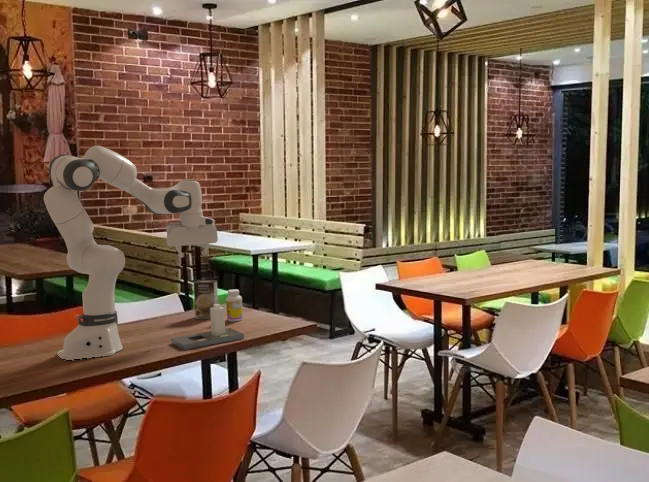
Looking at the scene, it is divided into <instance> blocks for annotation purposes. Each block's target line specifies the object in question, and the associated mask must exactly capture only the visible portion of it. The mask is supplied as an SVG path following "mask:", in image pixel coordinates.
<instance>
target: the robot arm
mask: <svg viewBox="0 0 649 482" xmlns="http://www.w3.org/2000/svg"><path fill="white" fill-rule="evenodd" d="M48 173H49V174H48V175H49V185H50V186H51V187H50V188H48V189H47V190H46V192H45V193H44V195H43V202H44V205H45V207H46V210H47V212H48V214H49V216H50V218H51V220H52V221H53V223H54V225H55V227H56V228H57V230H58V232H59V234H60V235H61V237H62V238H63V240H64V242H65V245H66V248H67V253H66V263H67V265H68V267H69V268H70V269H71V270H72V271H75V272H77V273H79V274H84V275H88V283H87V286H86V287H85V288H84V289H83V291H82V292H81V293H82V294H81V296H82V311H83V313H82V314H81V315H80V314H75V316H74V320H75V321H77V322H78V325H77V326H76V327H75V328H74V329H73V330H72V331H70V332H69V333H68V334H66V336H65V337H64V340H63V347H62V349H60V350H58V351H57V355H58V356H59V357H60V358H62V359H66V360H72V361H75V360H74V359H80V360H83V359H82V358H87V359H93V358H92V357H95V358H101V356H102V357H108V356H112V355H114V354H115V353H117V352H120V351H121V350H123V349H124V347H123V345H122V342H121V338H120V334H119V330H118V329H119V328H118V326H119V325H118V322H119V320H118V311H117V310H116V301H115V298H116V297H115V288H116V283H117V279H118V277H119V274H120V273H121V272H122V271H123V269H124V268H125V264H126V257H125V254H124V252H123V251H122V250H121V249H119V248H117V247H115V246H112V245H110V244H98V243H97V242H96V241H95V238H94V235H93V232H94V229H95V225H94V223H93V221H92V220H91V218H90V216H89V215H88V213H87V210H86V209H85V208H84V206H83V204H82V202H81V201H80V199H79V196H78V192H82V191H86V190H88V189H90V188H91V187H92V186H93V185H94V184H95V182H96V181H97V180H98V179H99V180H101V181H103V182H105V183H107V184H108V185H111V186H112V187H115V188H116V189H119V190H122V191H124V192H125V193H127V194H129V195H130V196H131V197H134V198H135V199H136V200H138V201H140V202H141V204H143V205H144V207H145V208H146V209H147V210H148V212H150V213H151V214H154V215H176V214H179V221H175V222H169V223H168V224H166V226H165V230H166V231H165V232H166V245H167V246H168V247H175V250H176V251H177V253H178V257H179V258H180V259H181V258H185V252H182V250H181V249H182V247H183V246H184V247H185V246H192V245H193V246H196V245H203V247H204V249H203V250H201V256H207V255H208V249H209V248H210V244H216V243H217V242H218V229H217V227H216V225H215V223H216V220H215V218H214V219H213V218H211V217H207V216H204V214H203V209H202V204H203V195H202V188H201V184H200V182H198V181H197V180H195V179H194V180H193V179H186V178H183V179H180V180H179V181H178V182H177V183H176V184H174V185H173V186H171V187H169V188H154V187H150V186H148V185H147V184H145V183H144V182H142V181H141V180H140V179H138V178H137V176H138V169H137V167H136V165H135V164H134V163H133V162H132V161H130V160H129V159H128V158H127V157H125V156H123V155H121V154H120V153H118V152H116V151H114V150H112V149H109V148H107V147H103V146H102V145H94V146H91V147H90V148H89V149H87V151H86V152H85V153H84V155H83V156H82V157H77V156H74V155H69V154H60V155H57V156H56V157H54V158H53V159H51V161H50V163H49V167H48ZM57 355H56V356H57ZM58 356H57V357H58ZM59 357H58V358H59ZM60 358H59V359H60ZM62 359H61V360H62ZM66 360H65V361H66Z"/></svg>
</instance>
